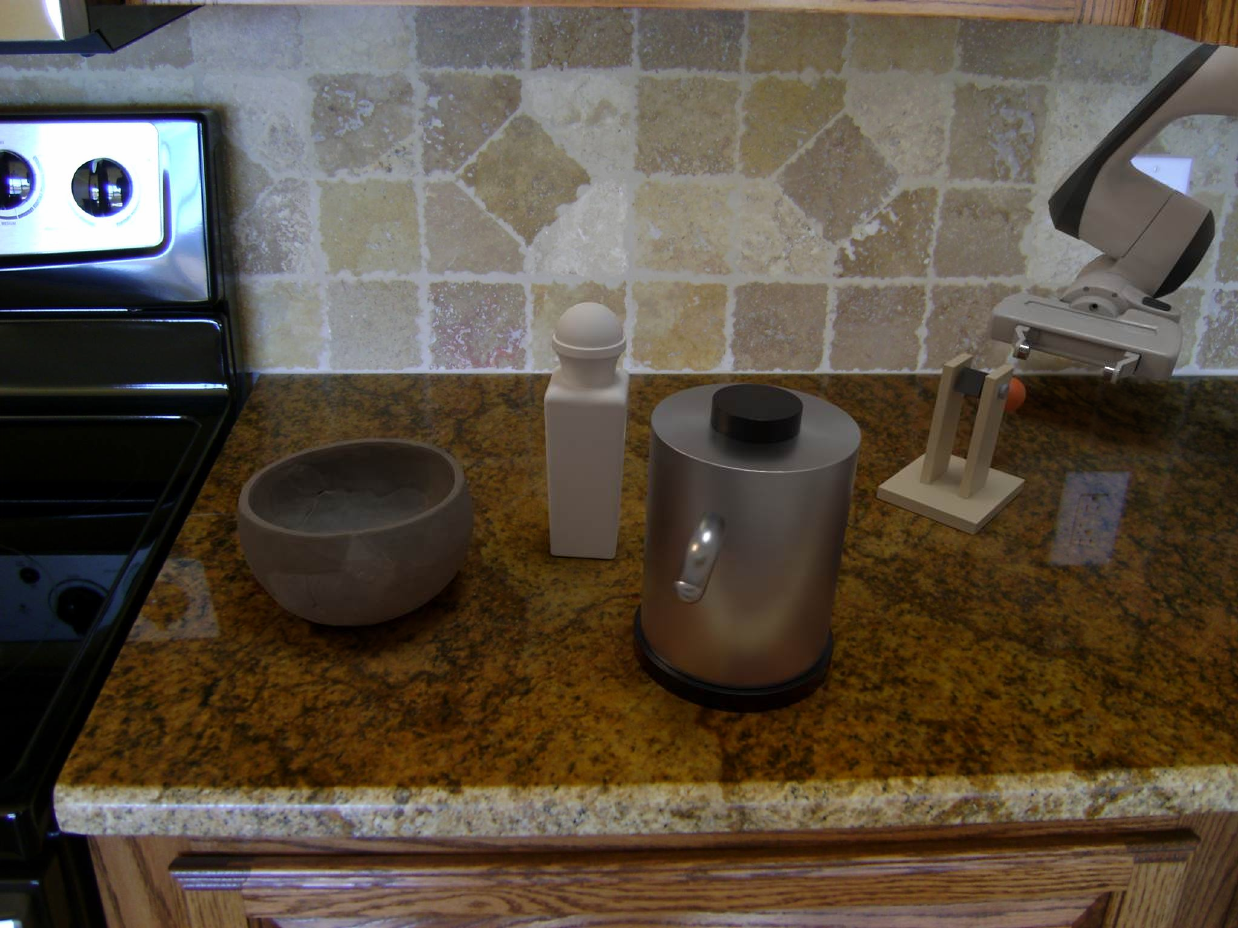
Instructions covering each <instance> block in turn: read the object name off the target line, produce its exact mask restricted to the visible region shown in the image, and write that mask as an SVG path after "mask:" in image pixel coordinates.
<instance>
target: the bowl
mask: <svg viewBox="0 0 1238 928" xmlns="http://www.w3.org/2000/svg"><path fill="white" fill-rule="evenodd" d="M464 472H465V471H464V469H463V467H462V465H461V463H460V462H459V461H458V460H457V459H456V458H455V457H454V456H452V455H451V454H450V453H448V452H447V451H446V450H445V449H441V448H440V447H438V446H436V445H433V444H430V443H427V442H424V441H420V440H416V439H415V440H414V439H405V438H398V437H397V438H395V437H393V438H392V437H386V438H381V437H370V438H369V437H364V438H354V439H347V440H340V441H336V442H330V443H325V444H321V445H316V446H312V447H309V448H306V449H303V450H300V451H296V452H294V453H291V454H288V455H285V456H284V457H281V458H279V459H278V460H275V461H273V462H271V463H269V464H267V465H266V466H264V467H263V468H261V469H260V470H259V471H257V472H256V473H255V474H253V475H252V476H251V477H250V478H249V479H248V480H247V481H246V482H245V483H244V485H243V487H242V488H241V491H240V494H239V498H238V502H237V508H236V509H237V511H236V526H237V527H236V528H237V534H238V540H239V544H240V548H241V550H242V554H243V557H244V559H245V562H246V564H247V566H248V568H249V571H250V572H251V573H252V575H253V576H254V578H255V579H256V580H257V582H258V583H259V584H260V585H261V587H262V588H263V589H264V590H265V591H266V592H267V593H268V594H269V595H270V597H271V598H272V599H273V600H274V601H275V602H276V603H277V604H278V605H279V606H280V607H282V608H283V610H285V611H287V612H289V613H291V614H293V615H295V616H297V617H298V618H302V619H304V620H307V621H309V622H313V623H316V624H319V625H328V626H333V627H334V626H335V627H339V626H340V627H359V626H360V627H361V626H372V625H377V624H380V623H385V622H388V621H391V620H394V619H397V618H399V617H403V616H405V615H406V614H407V615H408V614H409V613H411V612H414V611H415V610H417V609H419V608H421V607H422V606H424V605H426V603H428V602H430V601H431V600H432V599H433V598H435V597H436V596H438V595H439V594H440V593H441V592H442V591H443V590H444V589H445V588H446V587H447V586H448V584H450V582H452V580H453V579H454V578H455V577H456V575H457V573H458V571H460V569H461V567H462V565H463V564H464V561H465V559H466V558H467V557H466V556H467V555H468V552H469V549H470V546H471V542H472V538H473V534H474V527H475V509H474V502H473V497H472V493H471V489H470V486H469V483H468V479H467V478H466V475H465V473H464Z"/></svg>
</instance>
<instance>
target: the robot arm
mask: <svg viewBox="0 0 1238 928" xmlns="http://www.w3.org/2000/svg"><path fill="white" fill-rule="evenodd" d="M1205 115H1206V116H1223V117H1225V116H1226V117H1232V118H1238V48H1234V47H1229V46H1220V45H1210V44H1206V43H1205V42H1203V43H1202V44H1201V45H1199V46H1197V47H1196V48H1195V49H1193V50H1192V51H1191V52H1190V53H1188V54H1187V55H1186V56H1185V57H1184V58H1183V59H1182V60H1181V61H1180V62H1179V63H1177V64H1176V66H1174V67H1173V68H1172V69H1171V70H1170V71H1169V73H1167V75H1165V76H1164V77H1163V78H1162V79H1161V80H1160V81H1158V83H1156V85H1155V86H1154V87H1153V88H1152V89H1150V90H1149V92H1148V93H1146V95H1145V96H1144V97H1142V99H1141V100H1140V101H1139V102H1138V103H1137V104H1136V105H1135V106H1134V107H1133V108H1132V109H1131V110H1130V111H1129V112H1128V113H1127V114H1126V115H1124V117H1123V118H1121V120H1120V121H1119V122H1118V123H1117V124H1116V125H1115V126H1114V127H1113V128H1112V129H1111V131H1109V132H1108V134H1106V136H1105V137H1103V139H1102V140H1101V141H1100V142H1099V143H1098V144H1097V145H1096V146H1095V147H1094V148H1093V149H1092V150H1091V151H1089V152H1087V153H1086V154H1085V155H1083V156H1082V157H1081V158H1079V159H1078V160H1077V161H1075V162H1074V163H1073V164H1072V165H1071V166H1070V167H1069V168H1068V169H1067V170H1065V172H1064V173H1063V174H1062V175H1061V176H1062V177H1060V178H1059V179H1058V180H1057V182H1056V183H1057V184H1056V183H1055V184H1054V186H1055V187H1054V186H1053V188H1054V189H1053V188H1052V190H1053V191H1052V190H1051V192H1052V193H1050V195H1051V196H1050V195H1049V198H1050V199H1048V200H1047V206H1048V205H1049V208H1048V211H1049V215H1050V220H1051V221H1052V225H1053V227H1054V229H1055V230H1057V231H1058V232H1061V233H1063V234H1066V235H1067V236H1070V237H1072V238H1074V239H1076V240H1078V241H1079V240H1081V241H1083V242H1084V243H1086V244H1088V245H1089V246H1091V247H1093V248H1094V249H1096V250H1098V251H1099V252H1100V251H1101V252H1103V253H1105V254H1102V255H1100V256H1098V257H1096V258H1095V259H1094V260H1092V261H1091V262H1089V261H1088V262H1089V263H1088V262H1087V263H1088V264H1087V263H1086V264H1087V265H1086V264H1085V265H1086V266H1085V265H1084V266H1085V267H1084V266H1083V267H1084V268H1083V267H1082V268H1083V269H1080V271H1079V272H1078V274H1077V275H1076V277H1075V278H1076V279H1075V278H1074V280H1075V281H1072V282H1071V284H1070V285H1069V286H1068V287H1067V289H1066V290H1065V291H1064V293H1063V294H1062V295H1061V297H1060V299H1059V300H1056V299H1051V298H1048V297H1044V296H1039V295H1034V294H1031V293H1022V292H1021V293H1020V292H1018V293H1013V294H1011V295H1009V296H1006V297H1004V298H1003V299H1002V300H1001V301H1000V302H998V303H997V304H996V305H995V306H994V307H993V308H992V309H991V311H990V313H989V317H988V320H987V325H986V327H987V328H986V334H987V336H988V338H990V339H991V340H993V341H997V342H1002V343H1006V344H1009V345H1011V347H1012V348H1013V352H1012V358H1013V359H1018V360H1022V361H1027V359H1028V358H1029V357H1030V354H1031V352H1032V351H1037V352H1040V353H1044V354H1048V355H1052V356H1056V357H1059V358H1063V359H1067V360H1072V361H1075V362H1078V363H1084V364H1087V365H1090V366H1095V367H1099V368H1103V372H1102V376H1101V378H1100V381H1102V382H1106V383H1109V384H1112V385H1116V383H1117V382H1118V380H1119V379H1124V378H1128V377H1132V376H1134V377H1138V378H1142V379H1145V380H1149V381H1153V382H1157V383H1161V382H1167V381H1170V380H1171V377H1172V375H1173V373H1174V370H1175V368H1176V365H1177V362H1178V359H1179V356H1180V354H1181V350H1182V346H1183V340H1184V333H1183V329H1182V327H1181V326H1180V322H1181V318H1182V310H1181V309H1180V308H1179V307H1177V306H1175V305H1172V304H1170V303H1167V302H1165V301H1161V300H1160V298H1163V297H1166V296H1168V295H1171V294H1172V293H1173V294H1174V293H1175V292H1176V291H1177V290H1178V289H1179V288H1180V287H1181V286H1183V284H1185V282H1186V281H1187V280H1188V279H1189V278H1190V277H1191V276H1192V275H1193V273H1194V272H1195V270H1196V269H1197V268H1198V266H1199V265H1200V263H1201V262H1202V260H1203V259H1204V257H1205V255H1206V254H1207V252H1208V250H1209V248H1210V247H1211V244H1212V243H1213V240H1214V238H1215V237H1216V221H1215V215H1214V212H1213V210H1212V209H1211V208H1209V207H1208V206H1206V205H1204V204H1203V203H1201V202H1199V201H1198V200H1195V199H1193V198H1192V197H1190V196H1189V195H1187V194H1185V193H1184V192H1181V191H1180V190H1178V189H1174V188H1173V187H1171V186H1169V185H1167V184H1165V183H1164V182H1162V181H1160V180H1158V179H1157V178H1155V177H1153V176H1151V175H1149V174H1147V173H1145V172H1144V171H1142V170H1140V169H1139V168H1137V167H1135V164H1133V162H1132V160H1133V159H1135V157H1136V156H1138V154H1139V153H1140V152H1141V151H1142V150H1143V149H1144V148H1146V147H1147V146H1148V145H1149V144H1150V143H1151V142H1152V141H1153V140H1154V139H1155V138H1156V137H1157V136H1158V135H1159V134H1160V133H1161V132H1162V131H1163V130H1165V129H1166V128H1167V127H1168V126H1169V125H1170V124H1171V123H1173V122H1175V121H1177V120H1180V119H1183V118H1186V117H1191V116H1205Z"/></svg>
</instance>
